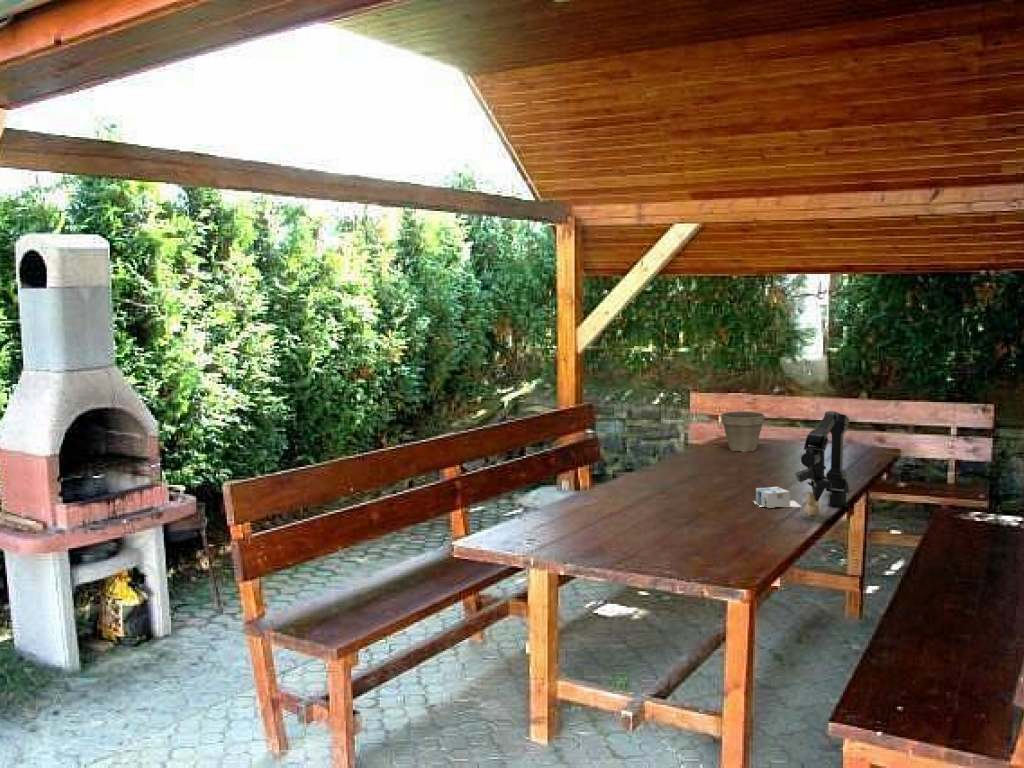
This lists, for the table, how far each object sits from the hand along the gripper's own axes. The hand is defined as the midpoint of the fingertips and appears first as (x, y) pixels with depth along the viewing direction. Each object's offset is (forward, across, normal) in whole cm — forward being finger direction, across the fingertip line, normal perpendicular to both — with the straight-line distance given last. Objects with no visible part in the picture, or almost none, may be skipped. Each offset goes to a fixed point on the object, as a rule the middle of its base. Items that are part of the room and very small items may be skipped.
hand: (816, 500), depth 370 cm
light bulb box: (+3, -17, -10) cm, 20 cm away
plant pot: (+8, -165, +10) cm, 165 cm away
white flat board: (+7, -24, -10) cm, 26 cm away
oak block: (+7, -5, 0) cm, 8 cm away
